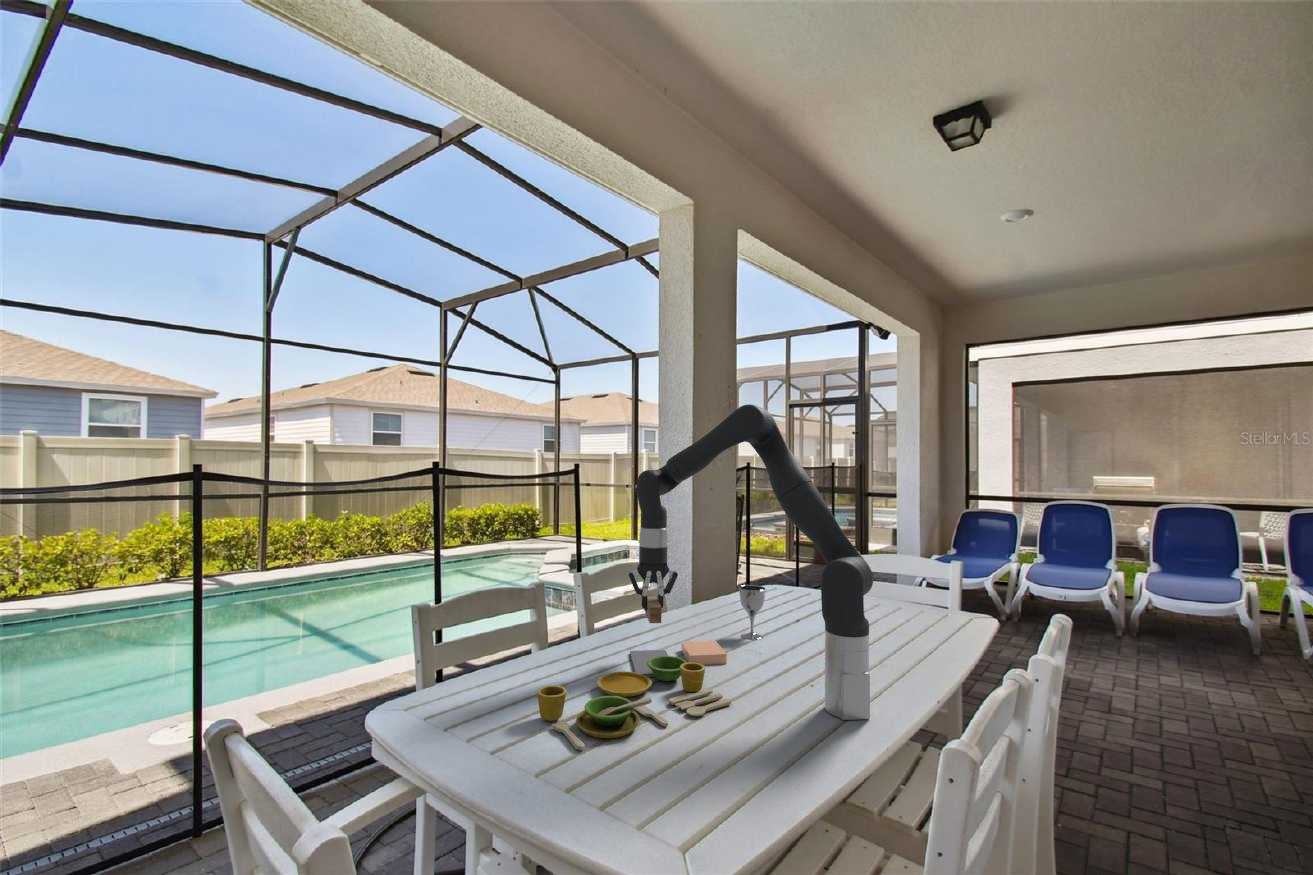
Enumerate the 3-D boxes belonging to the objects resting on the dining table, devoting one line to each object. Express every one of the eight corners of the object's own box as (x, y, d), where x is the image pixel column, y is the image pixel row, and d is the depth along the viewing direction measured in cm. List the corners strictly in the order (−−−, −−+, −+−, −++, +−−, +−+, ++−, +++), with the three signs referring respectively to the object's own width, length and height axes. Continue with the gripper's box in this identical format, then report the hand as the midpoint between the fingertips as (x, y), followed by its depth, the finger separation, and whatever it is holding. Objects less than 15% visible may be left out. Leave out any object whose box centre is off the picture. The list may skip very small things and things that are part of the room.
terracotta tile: (726, 654, 158) (715, 640, 169) (690, 655, 156) (681, 641, 168) (726, 665, 157) (715, 651, 169) (689, 667, 156) (681, 652, 168)
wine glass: (766, 640, 178) (767, 590, 179) (740, 640, 178) (741, 590, 179) (762, 632, 186) (763, 585, 187) (737, 632, 186) (737, 584, 187)
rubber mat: (675, 676, 148) (675, 672, 148) (636, 677, 147) (636, 674, 147) (665, 652, 166) (665, 649, 166) (630, 653, 165) (630, 650, 165)
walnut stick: (661, 623, 150) (661, 607, 150) (649, 623, 150) (649, 607, 150) (654, 608, 164) (654, 594, 164) (643, 608, 164) (644, 594, 164)
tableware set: (572, 756, 107) (573, 721, 107) (517, 700, 130) (517, 672, 130) (741, 704, 131) (741, 675, 131) (668, 664, 154) (669, 640, 154)
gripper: (628, 546, 153) (627, 613, 152) (681, 546, 155) (680, 612, 154) (626, 542, 160) (625, 606, 160) (677, 542, 162) (676, 605, 161)
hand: (652, 609), depth 157 cm, fingers closed on walnut stick, 3 cm apart
